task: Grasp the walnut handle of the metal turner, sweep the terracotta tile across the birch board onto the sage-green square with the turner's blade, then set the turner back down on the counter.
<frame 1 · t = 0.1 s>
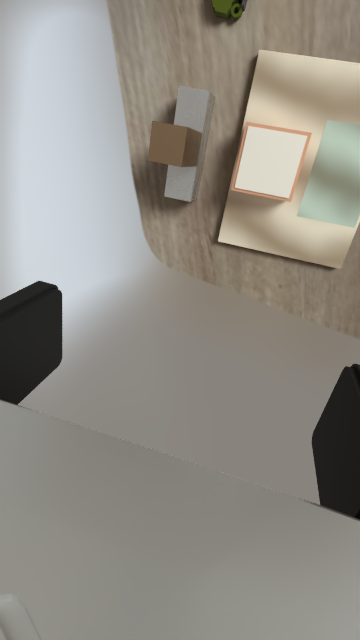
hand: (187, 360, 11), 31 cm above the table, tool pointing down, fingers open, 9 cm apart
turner: (192, 148, 37), on the table
tile: (269, 163, 34), point 1 cm above the table, touching board
board: (302, 169, 35), on the table
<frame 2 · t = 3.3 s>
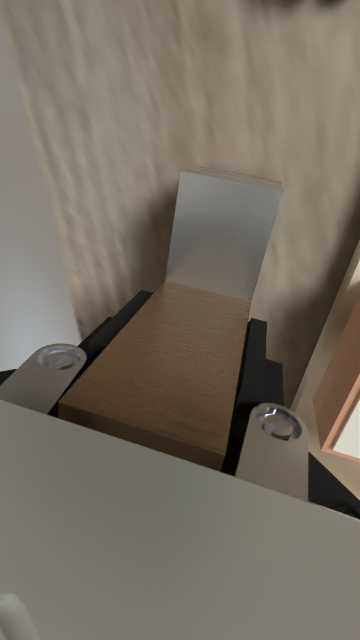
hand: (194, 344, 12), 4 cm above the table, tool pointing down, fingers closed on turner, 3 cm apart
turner: (214, 293, 15), on the table, touching gripper
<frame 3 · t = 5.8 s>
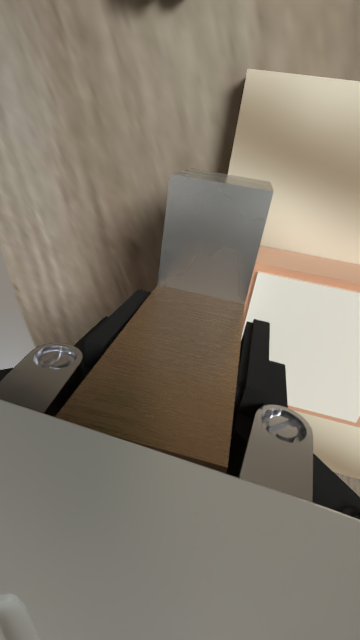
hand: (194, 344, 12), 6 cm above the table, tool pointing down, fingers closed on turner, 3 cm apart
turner: (207, 295, 15), point 2 cm above the table, touching gripper, tile
tile: (302, 319, 16), point 1 cm above the table, touching board, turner
board: (348, 316, 16), on the table
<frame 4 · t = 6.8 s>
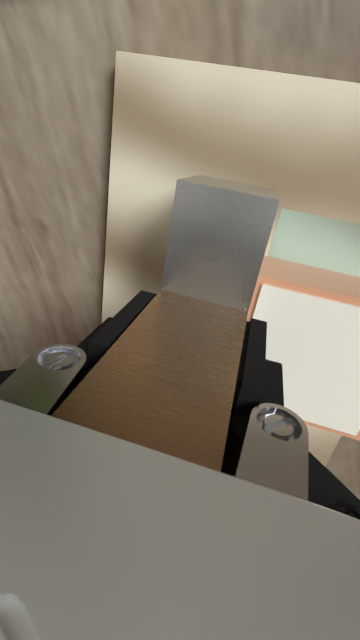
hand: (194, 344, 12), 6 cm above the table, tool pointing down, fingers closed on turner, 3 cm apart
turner: (211, 301, 15), point 2 cm above the table, touching gripper
tile: (305, 329, 16), point 1 cm above the table, touching board
board: (240, 294, 17), on the table
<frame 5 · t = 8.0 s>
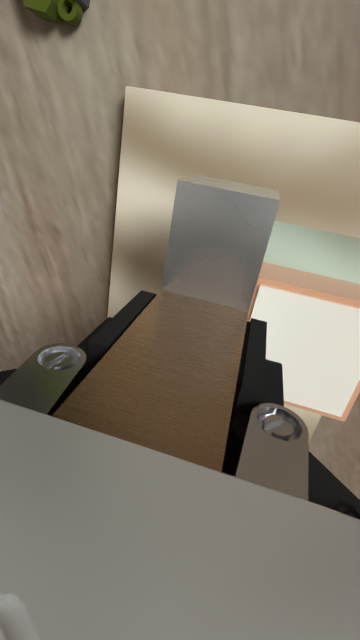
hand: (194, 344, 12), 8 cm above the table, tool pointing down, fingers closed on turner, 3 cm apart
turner: (212, 301, 15), point 5 cm above the table, touching gripper
tile: (297, 326, 18), point 1 cm above the table, touching board
board: (230, 292, 19), on the table
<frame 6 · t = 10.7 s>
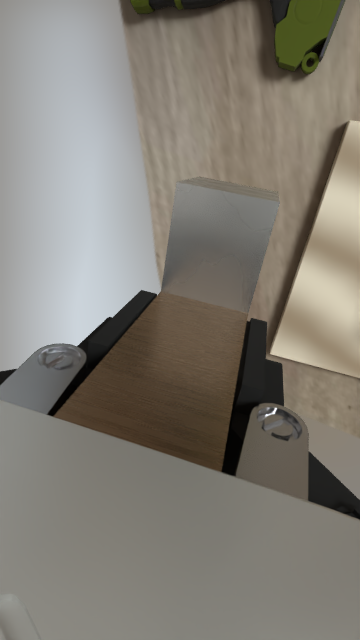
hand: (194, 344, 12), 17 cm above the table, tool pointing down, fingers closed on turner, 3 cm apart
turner: (211, 302, 15), point 14 cm above the table, touching gripper
when the fingers open (6 cm above the table, at t = 12.9 s): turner drops 2 cm, on the table.
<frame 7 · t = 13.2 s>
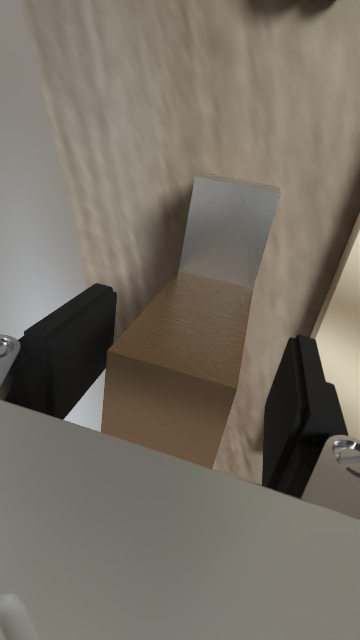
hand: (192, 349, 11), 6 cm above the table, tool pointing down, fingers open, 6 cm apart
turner: (219, 285, 17), on the table
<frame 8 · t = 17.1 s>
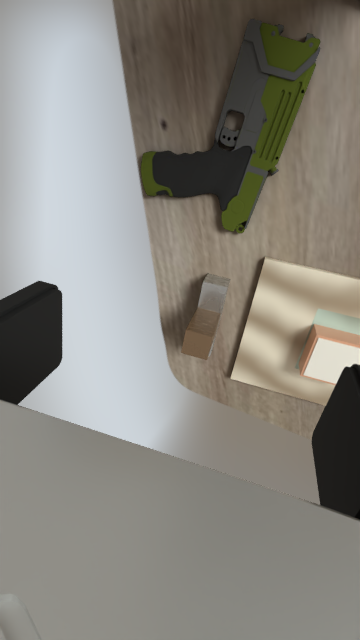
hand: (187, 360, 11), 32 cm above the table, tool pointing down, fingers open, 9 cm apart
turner: (211, 310, 45), on the table
gun: (220, 130, 37), on the table
tile: (329, 350, 42), point 1 cm above the table, touching board
board: (299, 334, 44), on the table
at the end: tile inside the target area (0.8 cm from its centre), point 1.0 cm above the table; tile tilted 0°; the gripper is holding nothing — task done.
